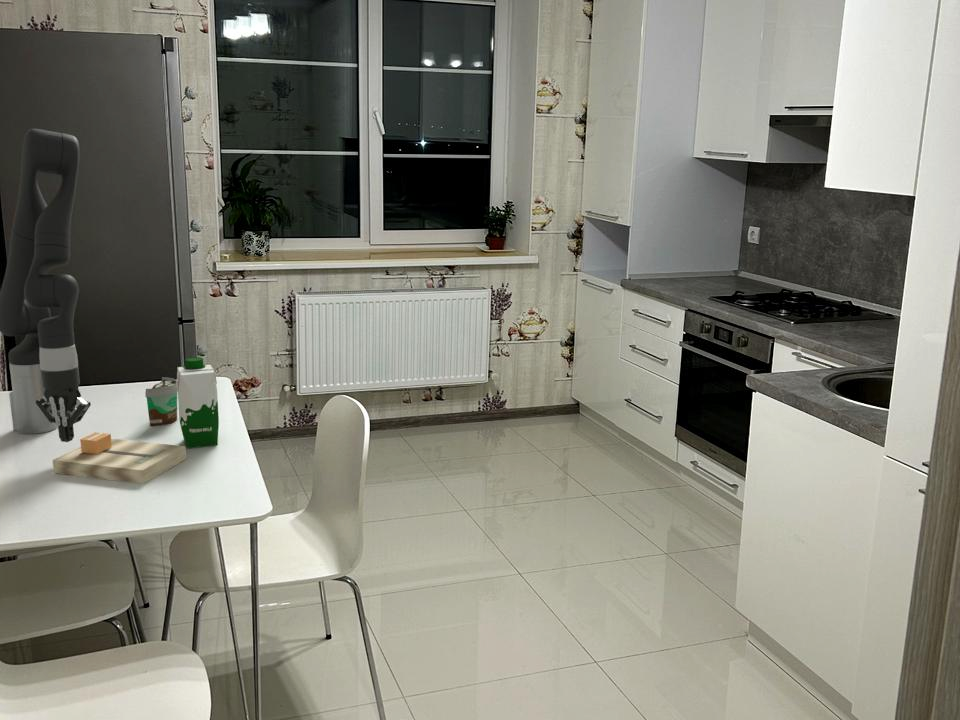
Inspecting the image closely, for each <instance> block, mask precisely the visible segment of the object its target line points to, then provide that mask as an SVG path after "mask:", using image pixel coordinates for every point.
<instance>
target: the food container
mask: <svg viewBox="0 0 960 720" xmlns="http://www.w3.org/2000/svg"><path fill="white" fill-rule="evenodd" d="M144 394H145V398H146V405H147V412H148V419H149V426H150V427H159V426H166V425H169V424H173V423H175V422H177V420H178V386H177V378H176V379H175V378H172V377H168V376H167V377H163V376H162V377H161V381H160V382H159V383H155V384H154V385H153V386H152V387H151V388H145V393H144Z"/></svg>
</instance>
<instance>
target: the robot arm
mask: <svg viewBox="0 0 960 720" xmlns="http://www.w3.org/2000/svg"><path fill="white" fill-rule="evenodd" d="M80 155H81V153H80V143H79V140H78V138H77V137H76V136H74V135H72V134H68V133H64V132H63V133H62V132H57V131H50V130H45V129H42V128H41V129H39V128H29V130H28V131H27V132H26V133H25V136H24V139H23V145H22V152H21V162H20V176H19V187H18V195H17V201H16V207H15V212H14V218H13V222H12V223H13V224H12V228H11V233H10V242H9V249H8V256H7V257H8V258H7V263H6V268H5V273H4V277H3V281H2V285H1V288H0V333H1V334H2V335H3V336H6V337H18V336H23V335H25V337H24V339H22V341H21V342H20V343H19V344H18V345H16V346H15V347H13V348H12V349H10V350H9V352H8V363H9V365H8V366H9V371H10V372H9V373H10V380H11V388H12V391H10V392H9V402H10V403H9V405H10V412H11V420H12V421H11V423H12V430H13V431H17V432H18V433H21V434H24V435H25V434H26V435H27V434H32V435H33V434H42V433H46V432H50V431H53V430H56V429H58V430H57V431H58V437H59V439H60V442H62V443H63V442H64V443H69V442H71V441H73V439H74V438H75V431H74V425H75V424H77V423H79V422H81V420H82V419H83V418H84V416H85V414H86V413H87V411H88V410H89V409H90V407H91V405H92V404H91V401H89V400H87V401H85V400H84V399H83V398H82V395H81V392H80V390H79V386H80V383H81V380H80V371H79V360H78V353H77V347H76V344H75V342H76V341H75V331H74V321H75V320H74V318H75V313H76V307H77V303H78V300H79V299H78V297H79V292H80V288H79V284H78V282H77V280H76V278H75V277H74V276H72V275H70V274H48V272H49V271H50V270H51V269H52V270H53V269H55V268H59V267H63V266H65V265H68V264H69V262H70V260H71V225H72V216H73V209H74V205H75V197H76V190H77V182H78V175H79V167H80V166H79V165H80V157H81V156H80ZM39 173H41V174H43V173H44V174H49V175H53V176H54V175H57V176H60V177H61V179H60V180H61V181H60V186H59V188H58V190H57V192H56V193H55V195H54V197H53V198H52V199H51V201H50V202H49V203H48V204H47V202H46V201H45V199H44V197H43V194H42V191H41V190H40V187H39V184H38V178H37V177H38V174H39ZM50 308H60V312H59V313H58V315H55V316H52V315H51V310H50Z"/></svg>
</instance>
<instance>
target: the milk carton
mask: <svg viewBox="0 0 960 720" xmlns="http://www.w3.org/2000/svg"><path fill="white" fill-rule="evenodd" d="M184 361H185V366H184V365H183V366H179V367H178V366H177V371H176V380H177V386H178V392H177V404H178V413H179V414H178V415H179V425H180V429H181V433H182V437H183V441H184V444H185V448H186V449H195V448H204V447H212V446H218V445H219V443H218V442H219V429H220V428H219V426H220V424H219V423H220V420H219V402H218V387H217V382H218V381H217V376H216V373H215V369H214V368H213V367H212V365H211V364H204V358H203V357H199V356H193V357H187V358H185V359H184Z"/></svg>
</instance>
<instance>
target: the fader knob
mask: <svg viewBox="0 0 960 720" xmlns="http://www.w3.org/2000/svg"><path fill="white" fill-rule="evenodd" d="M111 439H112V435H111V433H104V432H94V433H91V434H89V435H87V436H84V437H82V438H80V447H81V452H83V453H92V454H98V453H101V452H103V451H105V450H107V449H109V448H111V447H112V443H111Z"/></svg>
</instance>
